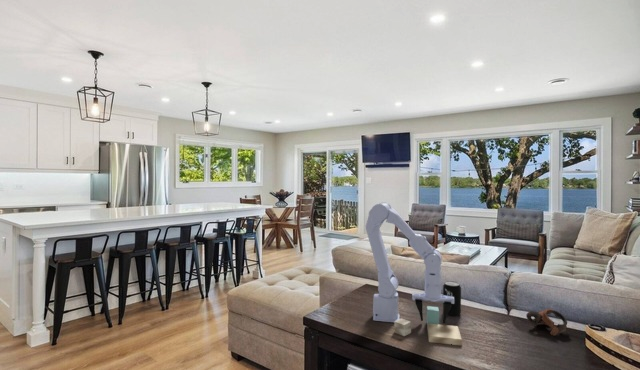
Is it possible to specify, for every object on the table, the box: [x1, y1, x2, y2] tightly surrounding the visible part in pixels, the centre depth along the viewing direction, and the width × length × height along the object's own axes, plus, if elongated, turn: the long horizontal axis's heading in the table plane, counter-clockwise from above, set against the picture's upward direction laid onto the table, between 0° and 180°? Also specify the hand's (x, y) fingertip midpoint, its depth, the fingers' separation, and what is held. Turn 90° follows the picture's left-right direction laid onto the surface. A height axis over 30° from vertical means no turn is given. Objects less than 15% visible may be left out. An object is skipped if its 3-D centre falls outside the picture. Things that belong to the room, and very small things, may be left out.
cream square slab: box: [427, 323, 463, 346], centre depth 116 cm, size 10×10×2 cm
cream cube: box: [393, 317, 412, 337], centre depth 119 cm, size 4×4×4 cm
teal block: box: [426, 305, 440, 328], centre depth 125 cm, size 4×4×6 cm
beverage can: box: [442, 280, 462, 317], centre depth 136 cm, size 7×7×12 cm
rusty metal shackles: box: [526, 308, 568, 337], centre depth 121 cm, size 12×10×8 cm
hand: (432, 320), depth 125 cm, fingers open, 7 cm apart
